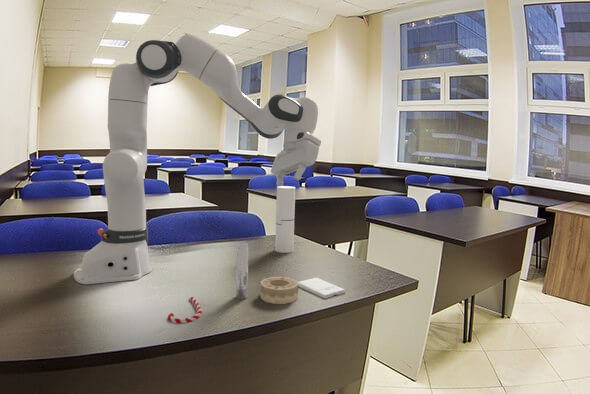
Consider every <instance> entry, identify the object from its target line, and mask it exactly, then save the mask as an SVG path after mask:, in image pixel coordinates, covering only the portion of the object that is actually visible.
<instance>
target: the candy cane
mask: <svg viewBox="0 0 590 394" xmlns="http://www.w3.org/2000/svg"><path fill="white" fill-rule="evenodd" d="M189 301H190V302H191V304H192V305H193V306H194V308H195V311H196V313H195V314H193V315H192V316H190V317H186V318H176V317H174V316H175V314H174V313H173V312H170V313H169V314H168V315H167V321H169V322H170V321H171V322H170V323H173V322H174V324H187V323H192V322H194V321H197V320H198V319H199V318H201V316H202V313H203V309H202V306H201V305H200V303H199V302H198V300H196V298H195V297H194V296H190V297H189Z"/></svg>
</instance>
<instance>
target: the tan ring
mask: <svg viewBox="0 0 590 394" xmlns="http://www.w3.org/2000/svg"><path fill="white" fill-rule="evenodd" d="M298 282H299V281H298V280H297V279H296V280H295V279H294V278H292V277H287V276H271V277H266V278H264V279H261V281H260V299H261V300H262V301H263V302H265V303H269V304H273V305H286V304H292V303H294V302H295V301H297V300H298V299H299V287H298Z"/></svg>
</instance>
